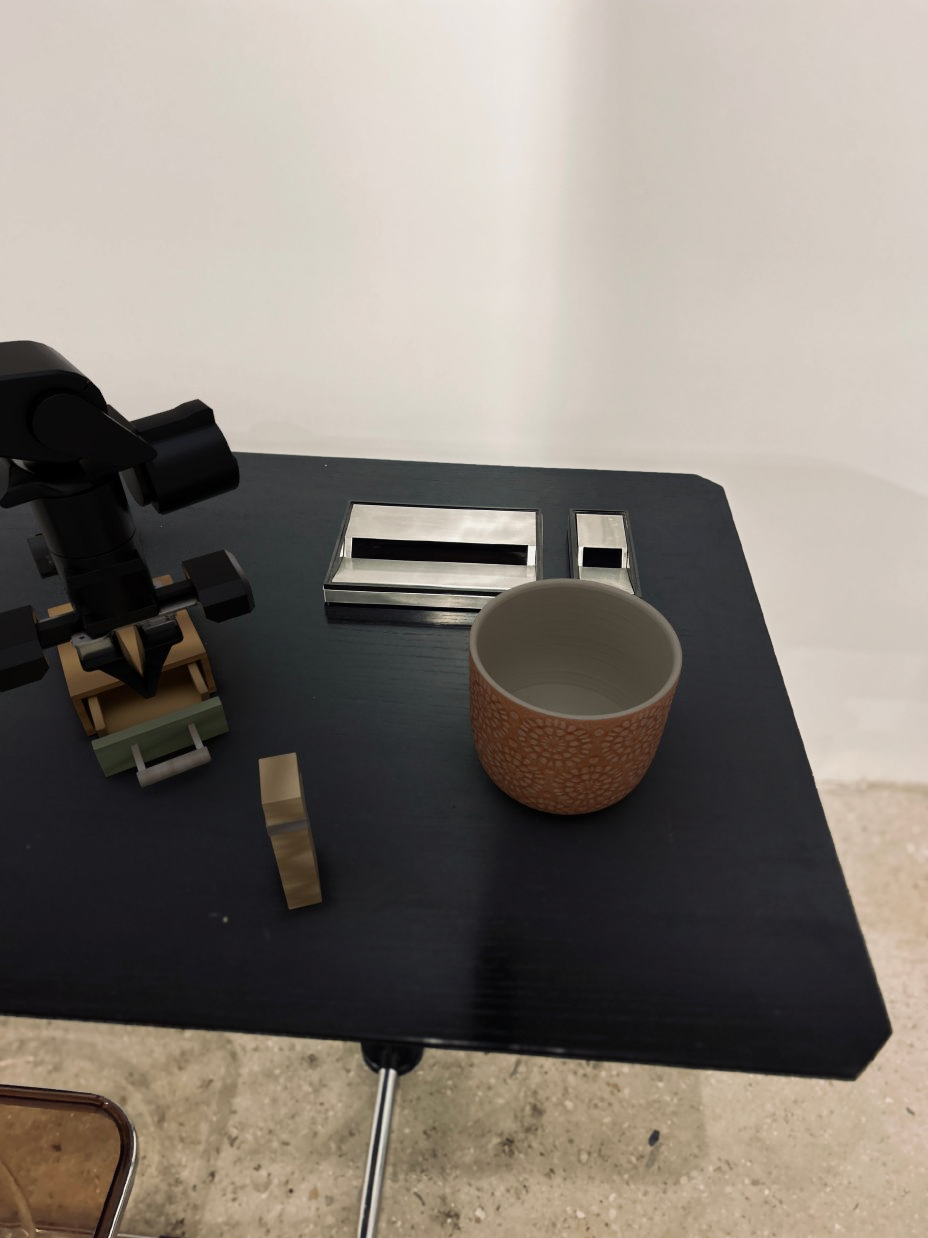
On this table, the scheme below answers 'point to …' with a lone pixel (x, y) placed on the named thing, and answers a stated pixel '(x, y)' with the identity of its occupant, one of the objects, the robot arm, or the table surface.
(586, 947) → the table surface
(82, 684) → the cabinet
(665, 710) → the planter
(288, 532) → the table surface
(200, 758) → the drawer
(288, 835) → the block
